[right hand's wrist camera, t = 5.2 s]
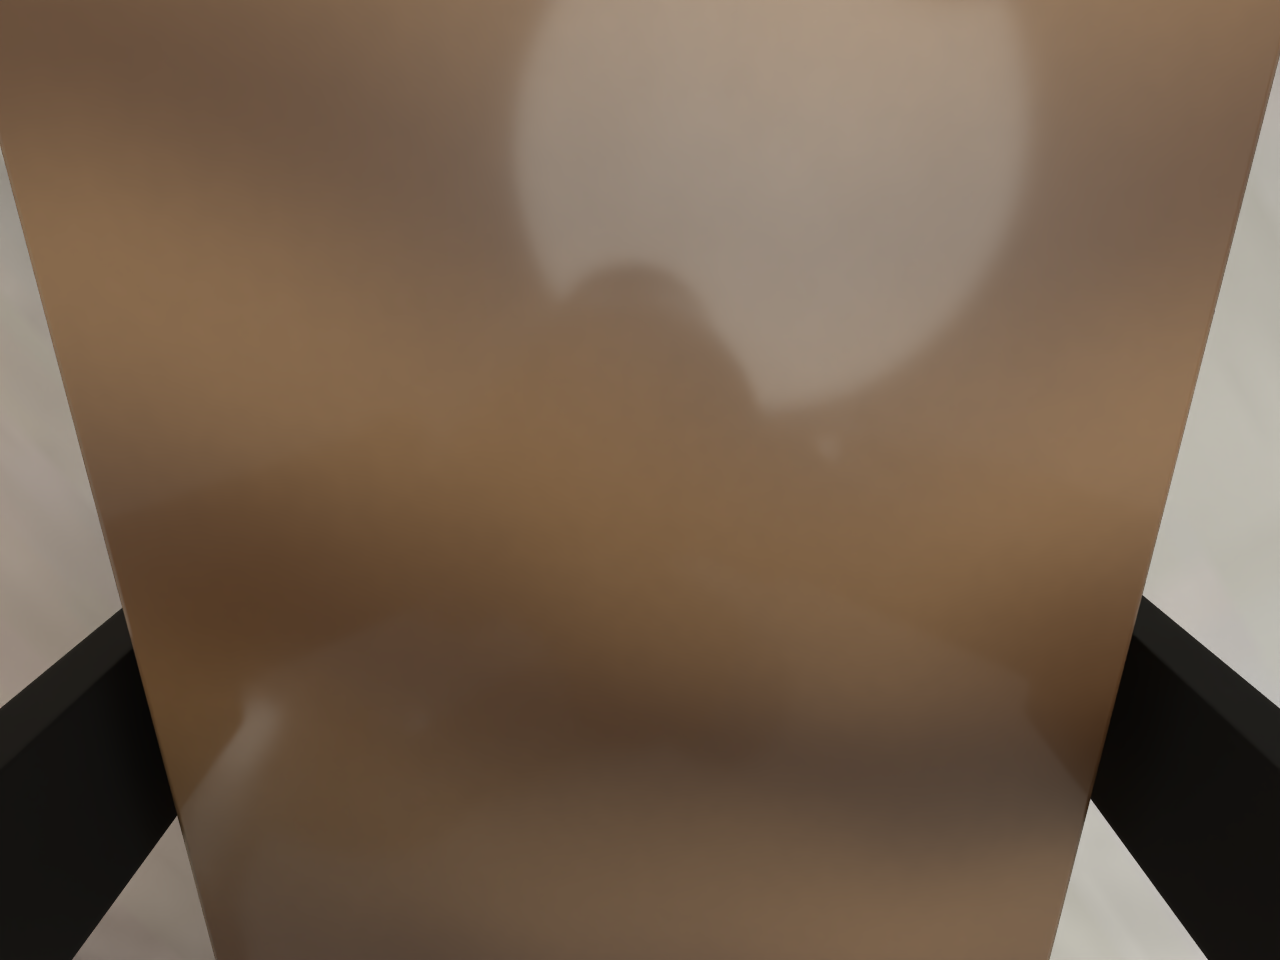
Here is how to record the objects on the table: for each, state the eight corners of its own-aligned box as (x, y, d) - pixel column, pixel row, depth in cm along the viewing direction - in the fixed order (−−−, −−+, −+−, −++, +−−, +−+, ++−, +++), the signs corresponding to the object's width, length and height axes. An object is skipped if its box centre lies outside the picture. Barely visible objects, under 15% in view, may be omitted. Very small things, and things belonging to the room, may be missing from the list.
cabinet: (275, -555, 13) (-765, -2699, 3) (985, -551, 13) (1976, -2639, 3) (412, 617, 20) (220, 989, 11) (856, 616, 20) (1046, 984, 11)
